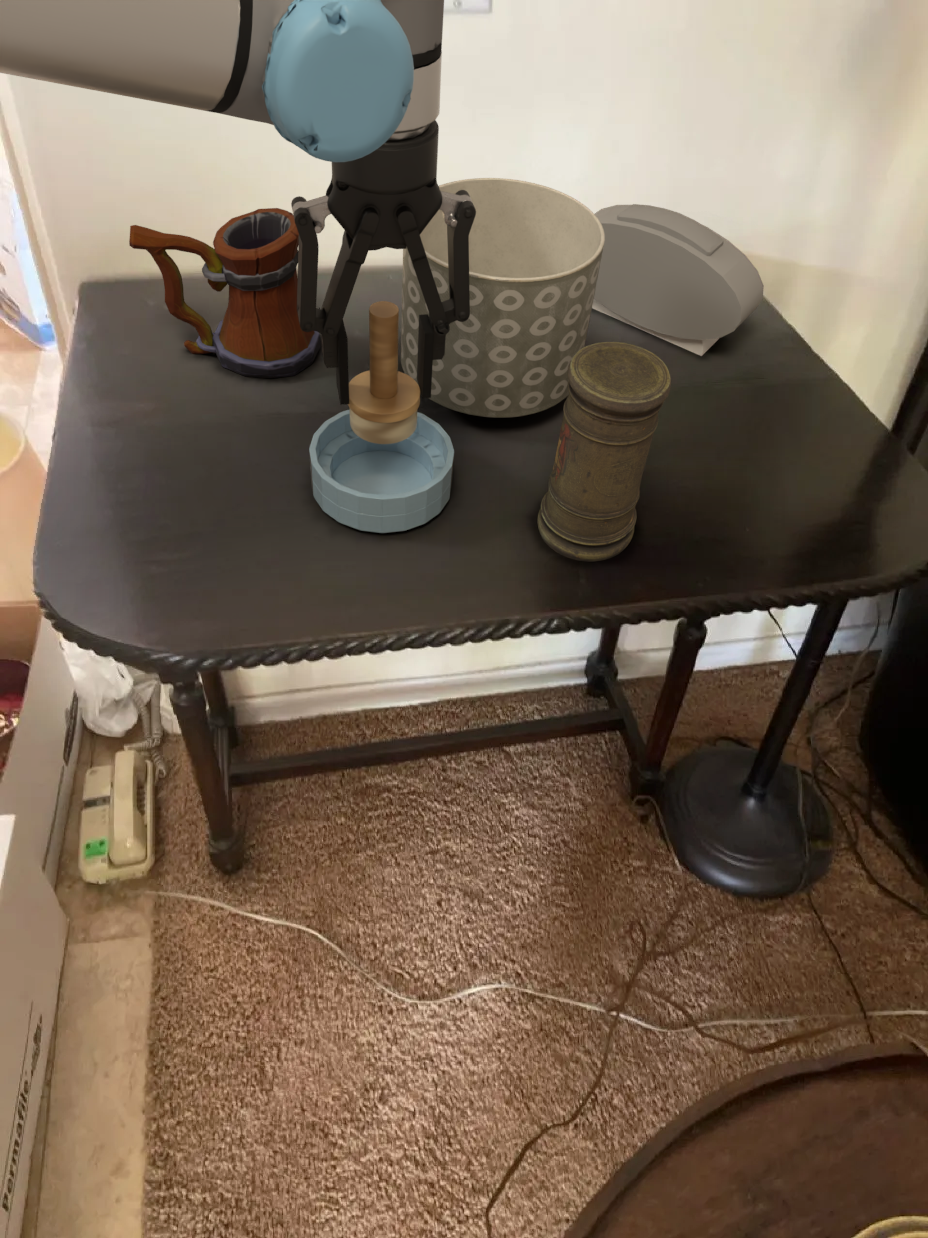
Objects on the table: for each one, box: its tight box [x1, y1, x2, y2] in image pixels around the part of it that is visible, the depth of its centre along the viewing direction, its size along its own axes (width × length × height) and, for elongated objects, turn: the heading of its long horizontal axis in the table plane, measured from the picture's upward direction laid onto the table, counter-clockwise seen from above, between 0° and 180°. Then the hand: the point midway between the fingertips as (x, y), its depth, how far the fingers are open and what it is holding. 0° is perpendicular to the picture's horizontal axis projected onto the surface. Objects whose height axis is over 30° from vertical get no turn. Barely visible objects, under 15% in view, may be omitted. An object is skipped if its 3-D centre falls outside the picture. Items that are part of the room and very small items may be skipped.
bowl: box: [308, 409, 455, 534], centre depth 91 cm, size 13×13×5 cm
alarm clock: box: [592, 203, 765, 357], centre depth 110 cm, size 23×6×13 cm, turn 54°
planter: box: [400, 177, 605, 419], centre depth 98 cm, size 19×19×18 cm
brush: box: [347, 300, 421, 444], centre depth 82 cm, size 6×6×12 cm
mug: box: [128, 207, 322, 379], centre depth 100 cm, size 18×12×15 cm, turn 98°
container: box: [536, 341, 672, 563], centre depth 85 cm, size 9×9×18 cm
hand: (383, 391), depth 84 cm, fingers closed on brush, 6 cm apart
